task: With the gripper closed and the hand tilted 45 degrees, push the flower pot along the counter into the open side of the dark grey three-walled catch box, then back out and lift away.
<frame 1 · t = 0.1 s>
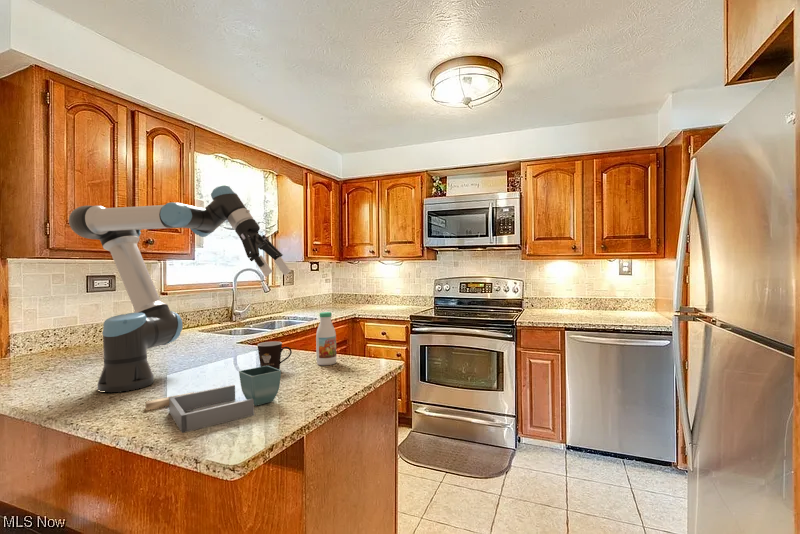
hand: (278, 273, 134), 36 cm above the countertop, tool tilted 35°, fingers open, 13 cm apart
milk bottle: (326, 363, 154), on the countertop
scraper: (175, 403, 112), on the countertop
flower pot: (260, 402, 111), on the countertop
coffee mug: (273, 371, 144), on the countertop
catch box: (212, 413, 103), on the countertop
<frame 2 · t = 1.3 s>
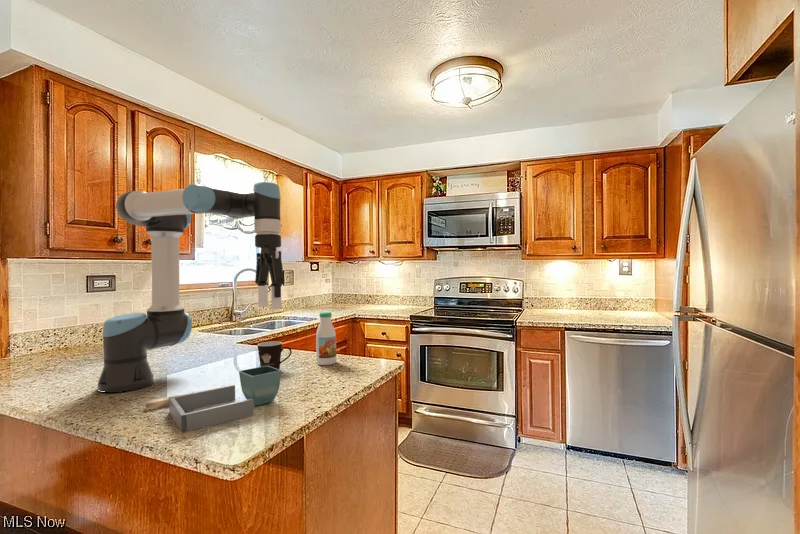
hand: (269, 307, 119), 26 cm above the countertop, tool pointing down, fingers open, 10 cm apart
nothing on the countertop moved.
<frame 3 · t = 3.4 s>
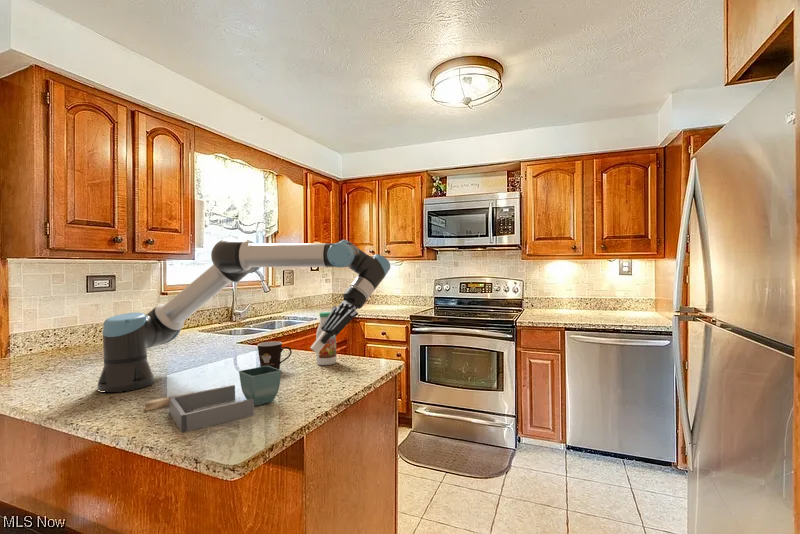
hand: (314, 350, 121), 12 cm above the countertop, tool tilted 45°, fingers closed
nothing on the countertop moved.
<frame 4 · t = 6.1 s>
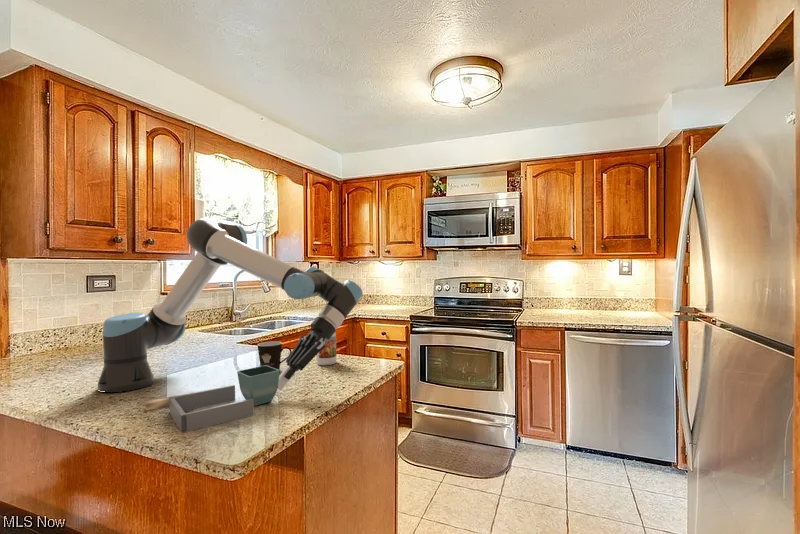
hand: (277, 387, 113), 3 cm above the countertop, tool tilted 45°, fingers closed
flower pot: (259, 402, 111), on the countertop, touching gripper
everything else where it was.
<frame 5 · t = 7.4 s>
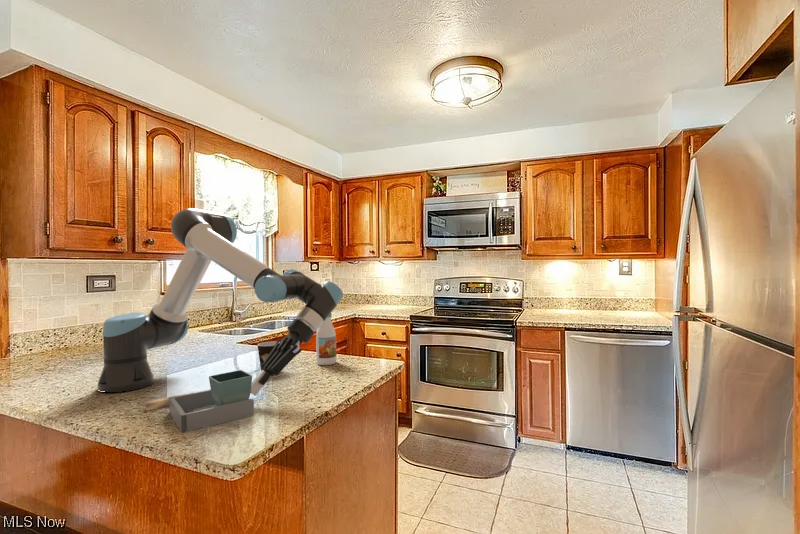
hand: (250, 392, 109), 3 cm above the countertop, tool tilted 45°, fingers closed
flower pot: (232, 409, 106), on the countertop, touching gripper
everything else where it was.
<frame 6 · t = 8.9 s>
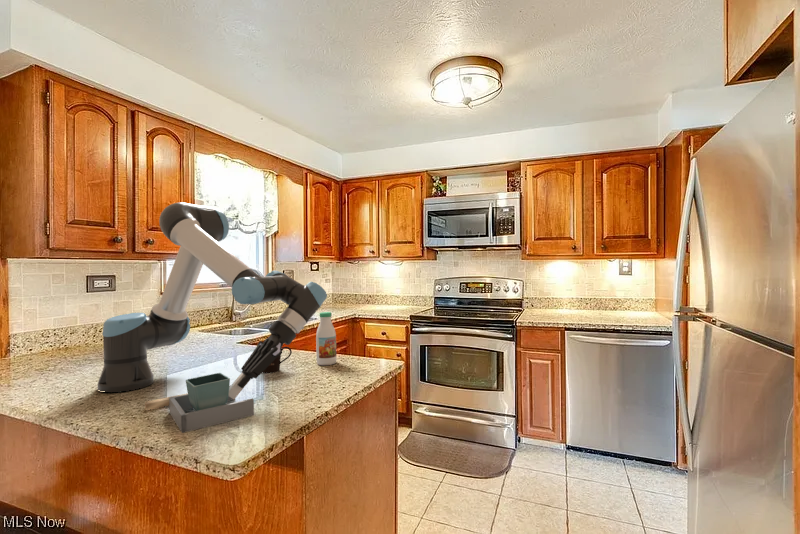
hand: (229, 396, 106), 4 cm above the countertop, tool tilted 45°, fingers closed
flower pot: (209, 413, 103), on the countertop, touching gripper
everything else where it was.
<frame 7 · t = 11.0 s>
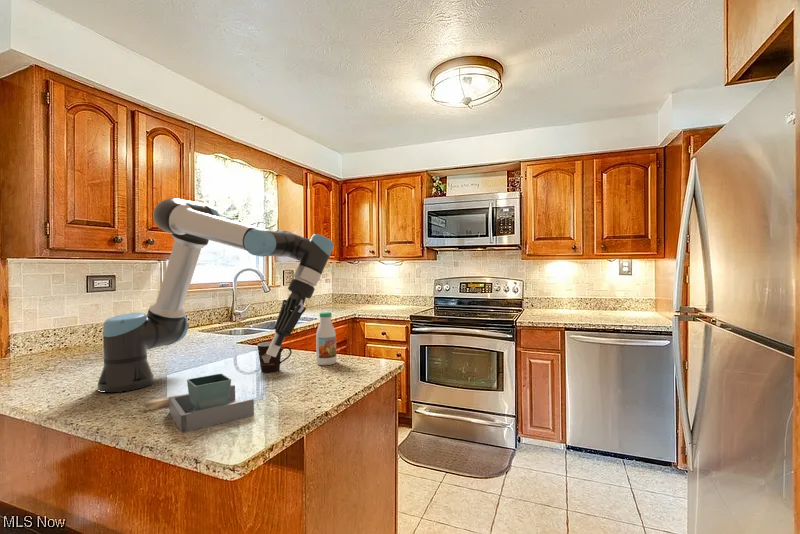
hand: (270, 355, 117), 12 cm above the countertop, tool tilted 25°, fingers closed
flower pot: (209, 414, 103), on the countertop
everything else where it was.
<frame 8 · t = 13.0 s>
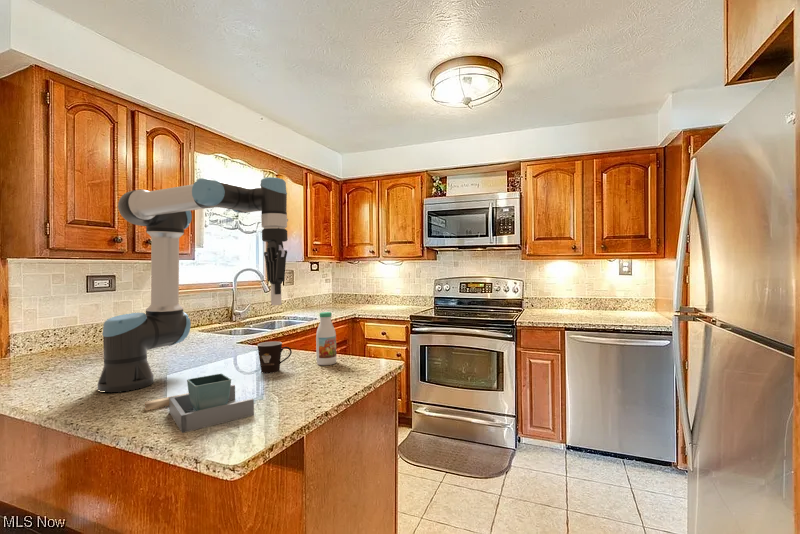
hand: (276, 304, 122), 26 cm above the countertop, tool pointing down, fingers closed
nothing on the countertop moved.
at the end: flower pot 0.8 cm from the catch box (horizontally); flower pot tilted 0°; flower pot moved 13.2 cm from its start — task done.
